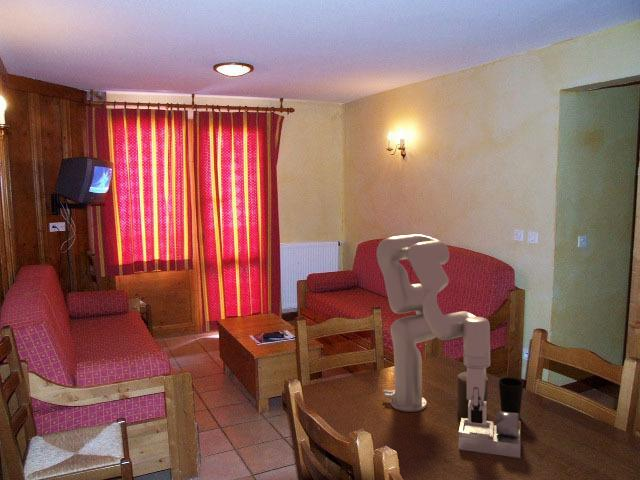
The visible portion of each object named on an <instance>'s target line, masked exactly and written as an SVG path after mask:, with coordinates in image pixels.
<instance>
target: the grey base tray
mask: <svg viewBox="0 0 640 480" xmlns="http://www.w3.org/2000/svg"><path fill="white" fill-rule="evenodd" d="M459 423H460V424H459V429H458V450H461V451H467V452H476V453H482V454H489V455H497V456H505V457H510V458H518V459H521V430H522V429H521V428H522V427H521V424H522V421H520V418H519V414H518V413H510V412H501V410H500V411H498V410H496V425H495V424H494V421H490V420H486V425H484V424H475V423H468V419H467V418H461V419H460V422H459Z"/></svg>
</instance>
